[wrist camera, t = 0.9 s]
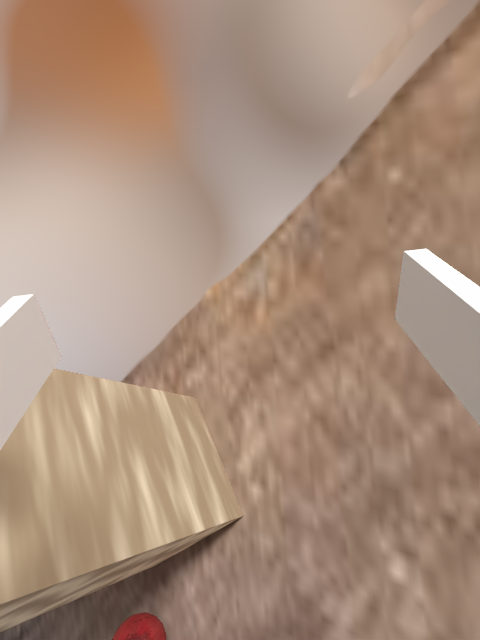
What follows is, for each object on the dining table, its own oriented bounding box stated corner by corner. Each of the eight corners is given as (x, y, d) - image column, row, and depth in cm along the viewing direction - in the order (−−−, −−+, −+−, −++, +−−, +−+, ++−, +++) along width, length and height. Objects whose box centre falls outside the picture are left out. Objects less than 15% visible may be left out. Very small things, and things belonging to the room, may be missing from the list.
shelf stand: (156, 565, 45) (-713, 937, 11) (124, 447, 53) (-440, 447, 19) (243, 515, 42) (-587, 817, 8) (195, 397, 50) (-323, 290, 16)
